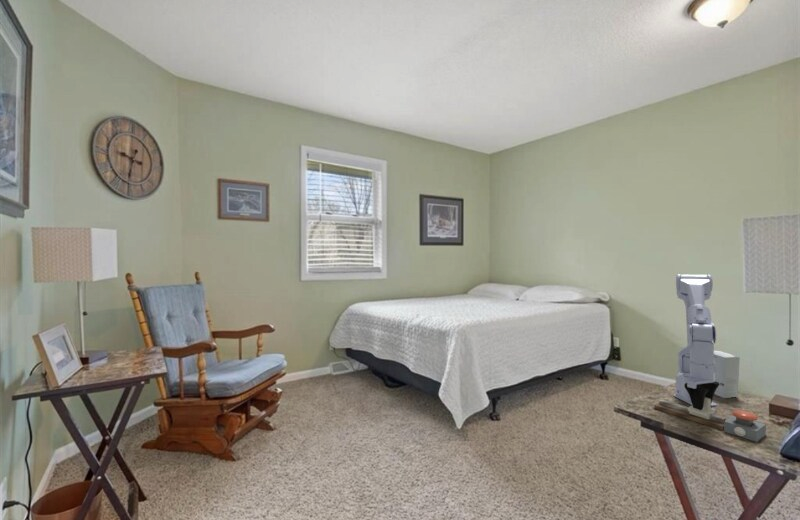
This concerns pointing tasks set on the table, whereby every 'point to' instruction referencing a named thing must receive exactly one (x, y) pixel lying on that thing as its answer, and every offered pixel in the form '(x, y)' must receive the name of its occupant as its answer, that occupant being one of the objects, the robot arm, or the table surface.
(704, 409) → the carriage
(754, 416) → the button
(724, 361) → the skincare box
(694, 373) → the robot arm
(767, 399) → the table surface
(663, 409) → the rail board
